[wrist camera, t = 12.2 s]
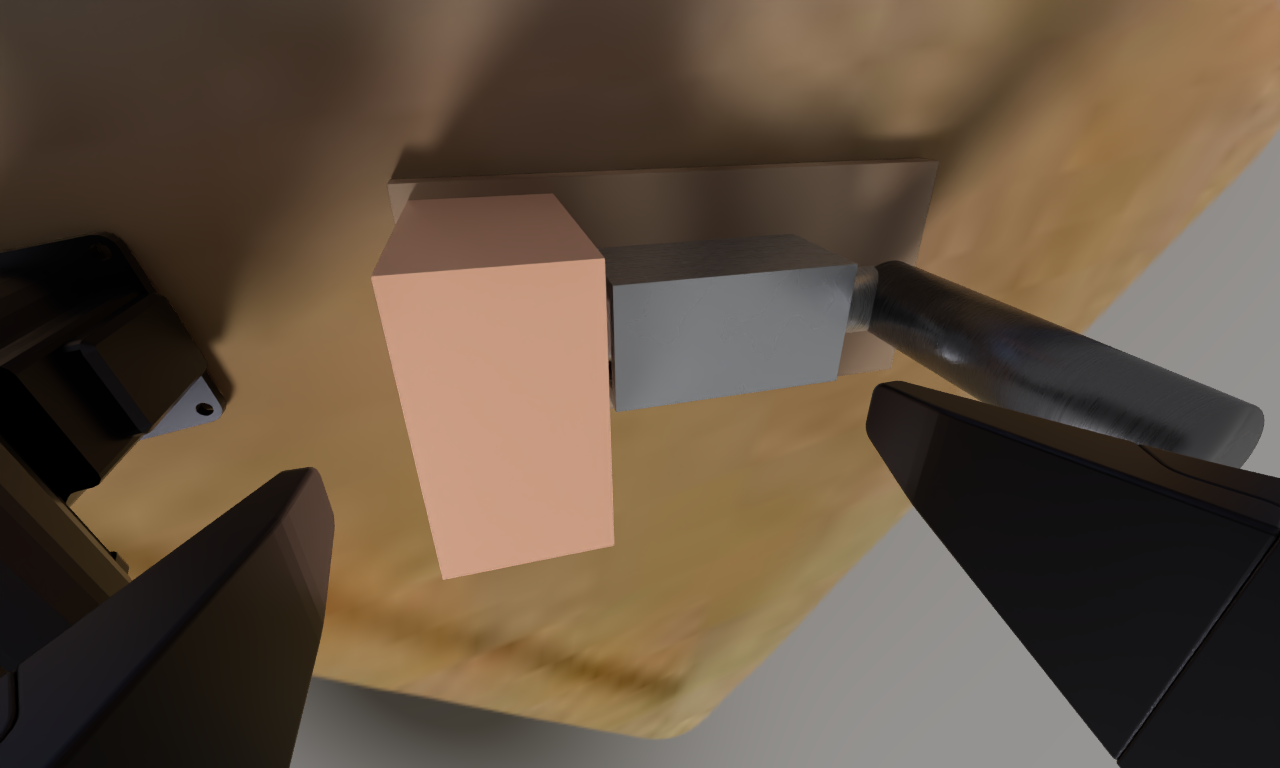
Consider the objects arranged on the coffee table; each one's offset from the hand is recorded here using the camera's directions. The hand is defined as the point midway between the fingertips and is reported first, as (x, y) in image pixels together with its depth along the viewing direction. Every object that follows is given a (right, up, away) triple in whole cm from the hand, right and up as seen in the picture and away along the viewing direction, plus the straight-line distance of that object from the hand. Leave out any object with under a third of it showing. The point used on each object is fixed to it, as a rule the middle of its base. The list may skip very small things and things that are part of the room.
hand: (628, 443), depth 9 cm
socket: (-5, +3, +11) cm, 12 cm away
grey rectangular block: (+2, +4, +12) cm, 13 cm away
